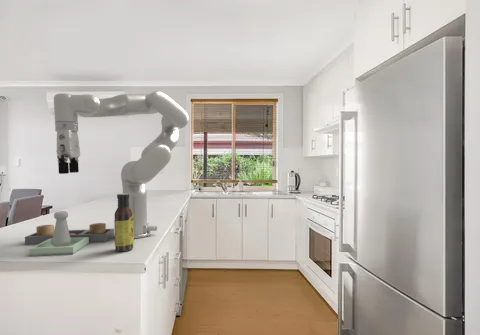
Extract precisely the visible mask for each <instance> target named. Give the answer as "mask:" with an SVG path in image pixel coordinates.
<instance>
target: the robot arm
mask: <svg viewBox="0 0 480 335" xmlns="http://www.w3.org/2000/svg"><path fill="white" fill-rule="evenodd" d="M53 110H54V111H53V112H54V127H55V128H54V129H55V132H56V150H55V151H56V156H57V165H58V174H59V175H64V174H66V175H67V174H69V173H79V158H80V156H81V150H80V140H79V135H78V132H79V121H78V119H79V118H78V115H79V116H80V117H84V118H100V117H101V118H103V117H116V116H117V117H118V116H119V117H120V116H129V115H132V116H134V115H153V114H158V113H159V114H161V116H162V117H161V123H160V124H161V132H160V134H159V135H158V136H156V138H155V139H153V140H152V142H149V144H148V145H147V146H145V148H143V149H142V152H141V154H140V158H139V159H138V160H133V161H128V162H127V163H125V164H124V165H123V167H122V168H121V172H120V178H121V186H122V194H129V207H130V209H131V210H132V213H133V231H134V232H133V233H134V239H140V238H145V237H149V236H150V235H152V232H157V231H158V225H150V224H149V222H148V212H147V209H148V206H147V205H148V204H147V200H148V199H147V196H148V195H147V186H146V184H148V183H149V182H151V181H152V180H153V179H154V178H155V177H156V176H157V175H158V174H159V173H160V172H161V171H162V170H164V168H165V167H167V165H168V164H169V163H170V160H171V158H172V151H173V149H174V148H175V147H176V146H177V144H178V142H179V138H180V131H179V129H182V128H185V127H186V126H187V125H188V123H189V122H190V120H189V114H188V113H187V111H186V109H184V108H183V107H182V106H181V105H180V104H178V103H177V102H176V101H175V100H174V99H173V98H171V97H170V96H168V95H167V94H166V93H164V92H162V91H159V90H155V91H153V92H150V93H122V94H119V95H114V96H112V97H106V98H98V97H96V96H95V95H92V94H71V93H57V94H54V96H53ZM68 160H69V162H68Z"/></svg>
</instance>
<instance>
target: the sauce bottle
mask: <svg viewBox="0 0 480 335" xmlns="http://www.w3.org/2000/svg"><path fill="white" fill-rule="evenodd" d="M116 198H117V208H116V210H115V212H114V222H113V223H114V246H115V251H116V252H121V253H122V252H127V251H131V250H133V248H134V243H135V242H134V241H135V240H134V239H135V238H134V233H133V232H134V231H133V213H132V210H131V209H130V207H129V194H123V193H117V194H116Z"/></svg>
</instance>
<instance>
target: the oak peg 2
mask: <svg viewBox="0 0 480 335" xmlns="http://www.w3.org/2000/svg"><path fill="white" fill-rule="evenodd" d="M106 227H107V224H106V223H105V222H104V223H103V222H96V223H92V224H89V230H90V234H105V233H106V229H107V228H106Z"/></svg>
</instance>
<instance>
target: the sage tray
mask: <svg viewBox="0 0 480 335" xmlns="http://www.w3.org/2000/svg"><path fill="white" fill-rule="evenodd" d="M52 239H53V238H51V239H48V240H46V241H44V242H42V243H40V244H35V245H33V246H32V247H29V248H28V249H29V250H28V255H29V257H40V256H62V255H63V256H65V255H67V256H68V255H75V254H76V253H78V252H79V251H80V250H83V248H85V247H86V246H88V245H89V244H90V242H89V237H78V238H70V239H71V241H70V244H69V246H64V247H54V245H53V244H52Z"/></svg>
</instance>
